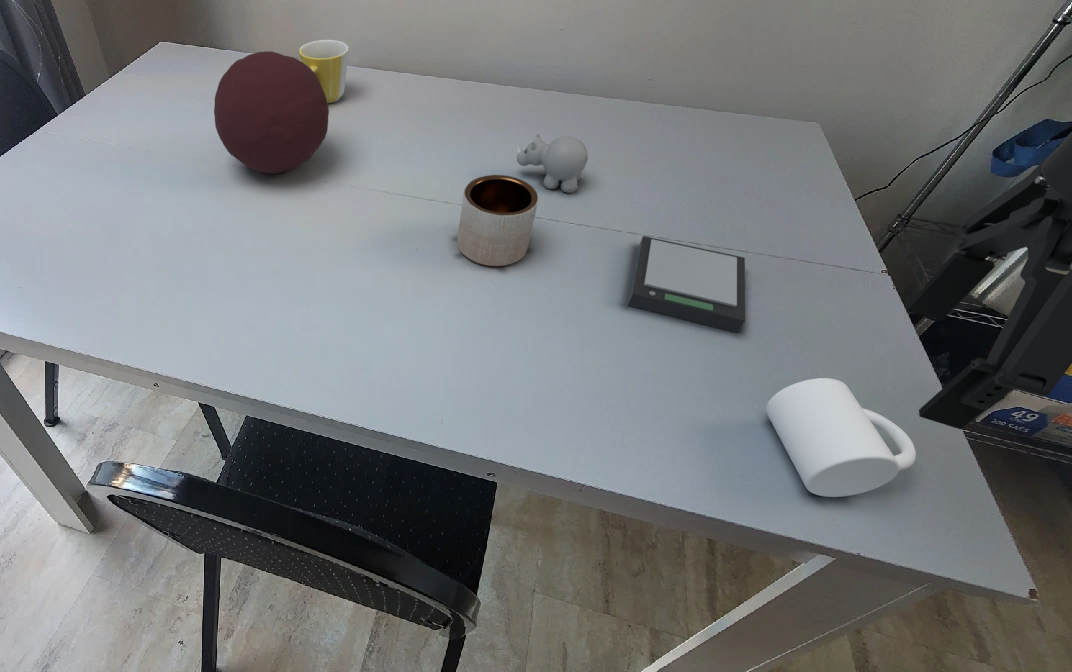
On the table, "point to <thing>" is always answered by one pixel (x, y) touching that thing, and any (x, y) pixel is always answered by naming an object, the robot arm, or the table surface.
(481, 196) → the planter
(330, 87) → the mug
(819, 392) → the mug
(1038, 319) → the robot arm
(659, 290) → the scale
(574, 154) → the chubby cartoon animal
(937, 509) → the table surface
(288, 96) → the decorative sphere
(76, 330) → the table surface
